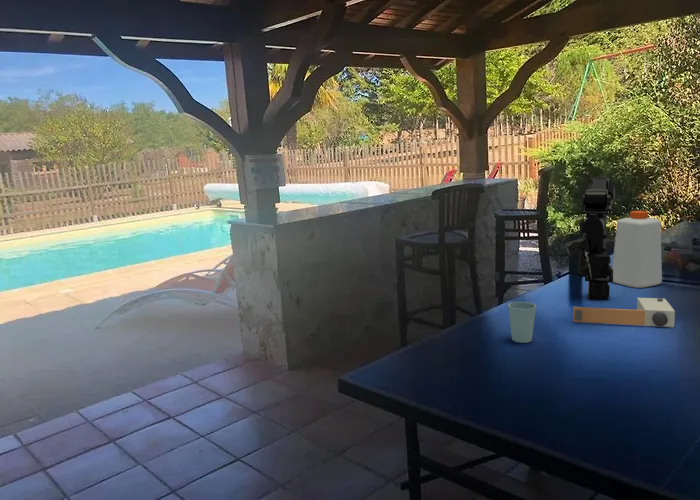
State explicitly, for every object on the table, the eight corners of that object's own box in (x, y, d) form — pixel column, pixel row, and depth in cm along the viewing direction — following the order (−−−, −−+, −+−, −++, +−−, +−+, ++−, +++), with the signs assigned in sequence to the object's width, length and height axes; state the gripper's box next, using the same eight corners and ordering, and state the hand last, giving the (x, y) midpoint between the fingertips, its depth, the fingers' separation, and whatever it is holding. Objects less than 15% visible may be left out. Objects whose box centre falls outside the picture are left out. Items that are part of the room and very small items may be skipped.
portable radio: (596, 272, 241) (598, 214, 236) (600, 276, 235) (603, 216, 231) (576, 273, 242) (578, 214, 237) (581, 276, 236) (583, 216, 231)
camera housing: (644, 327, 172) (645, 309, 171) (636, 312, 186) (637, 295, 185) (674, 328, 170) (676, 310, 168) (664, 313, 184) (665, 296, 183)
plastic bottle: (605, 281, 226) (608, 211, 221) (632, 276, 232) (635, 208, 227) (639, 289, 213) (642, 215, 207) (666, 284, 219) (671, 211, 214)
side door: (644, 326, 171) (645, 311, 170) (573, 322, 178) (573, 308, 177) (643, 324, 173) (644, 310, 172) (572, 320, 179) (573, 306, 178)
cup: (514, 345, 162) (514, 309, 160) (503, 336, 169) (504, 302, 167) (540, 343, 163) (540, 307, 161) (528, 334, 170) (528, 300, 168)
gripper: (563, 226, 188) (562, 272, 192) (571, 236, 171) (570, 287, 174) (599, 225, 186) (598, 272, 189) (611, 236, 168) (609, 287, 171)
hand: (593, 279), depth 181 cm, fingers closed
